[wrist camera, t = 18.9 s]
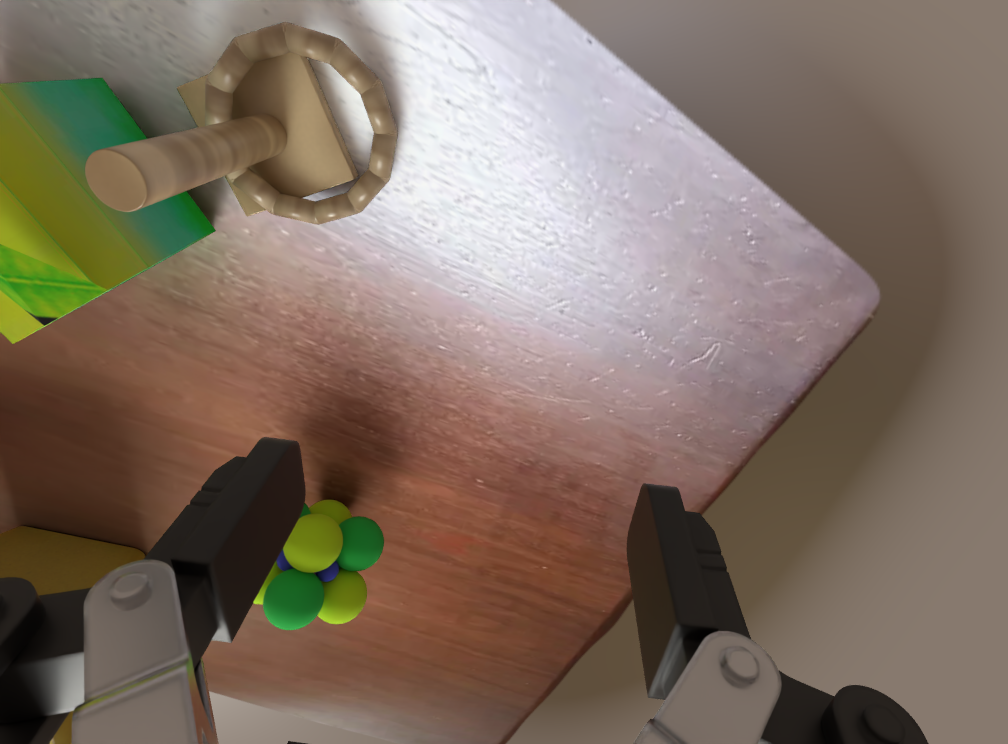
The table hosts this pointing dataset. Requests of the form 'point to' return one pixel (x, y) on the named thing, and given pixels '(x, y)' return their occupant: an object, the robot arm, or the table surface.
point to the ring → (351, 69)
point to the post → (234, 143)
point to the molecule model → (321, 568)
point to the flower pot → (59, 569)
